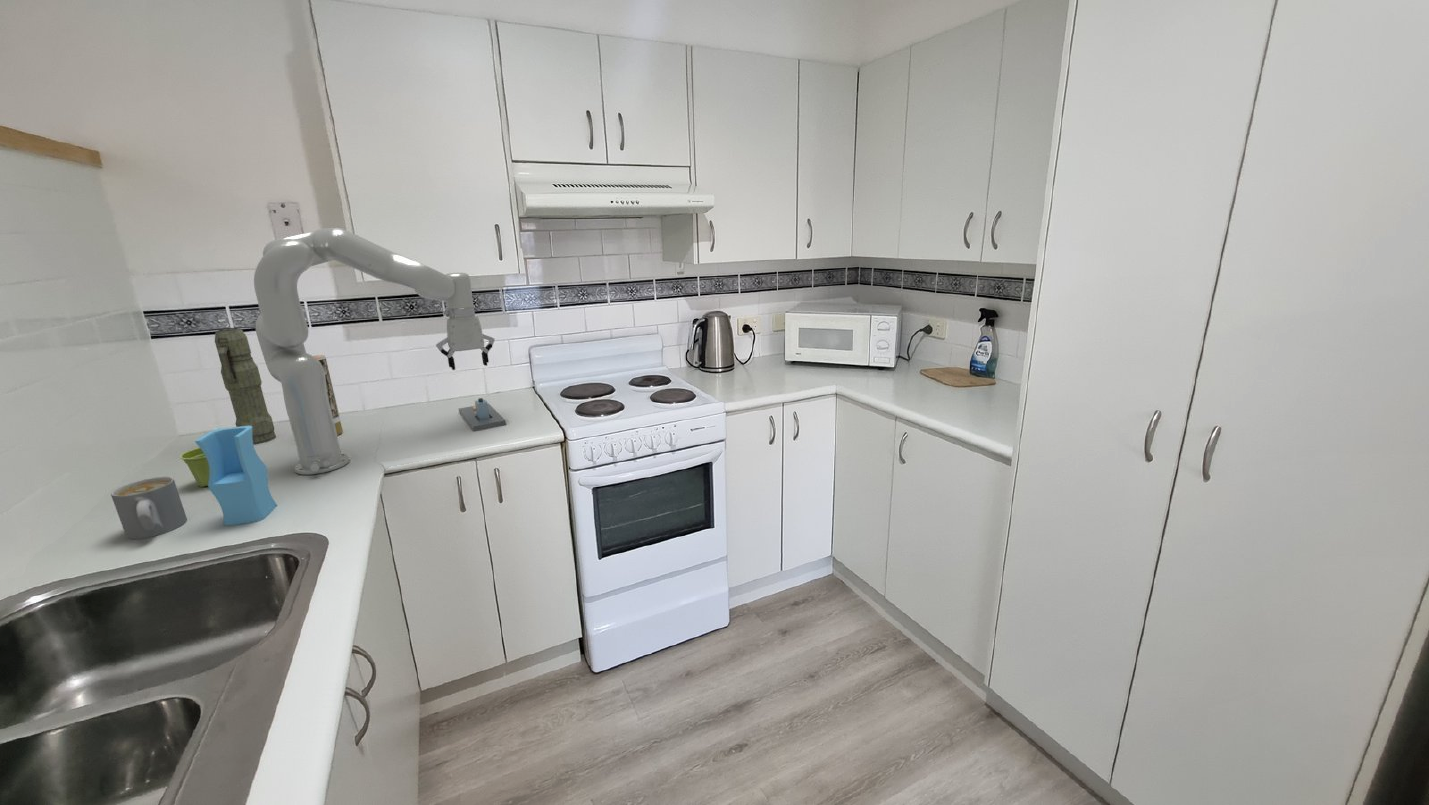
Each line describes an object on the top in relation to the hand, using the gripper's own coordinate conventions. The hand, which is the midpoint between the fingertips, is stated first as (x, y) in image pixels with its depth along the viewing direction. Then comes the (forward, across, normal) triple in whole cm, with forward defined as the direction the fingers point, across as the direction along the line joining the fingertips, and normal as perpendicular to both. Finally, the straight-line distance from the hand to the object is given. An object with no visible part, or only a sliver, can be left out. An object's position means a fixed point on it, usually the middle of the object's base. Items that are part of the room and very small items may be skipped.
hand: (469, 367), depth 186 cm
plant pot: (+20, -67, -8) cm, 70 cm away
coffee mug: (+20, -74, -34) cm, 84 cm away
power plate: (+19, +2, +4) cm, 19 cm away
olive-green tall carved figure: (+20, -60, +26) cm, 68 cm away
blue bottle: (+19, +2, 0) cm, 19 cm away
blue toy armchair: (+20, -57, -38) cm, 71 cm away
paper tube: (+19, -41, +17) cm, 49 cm away
